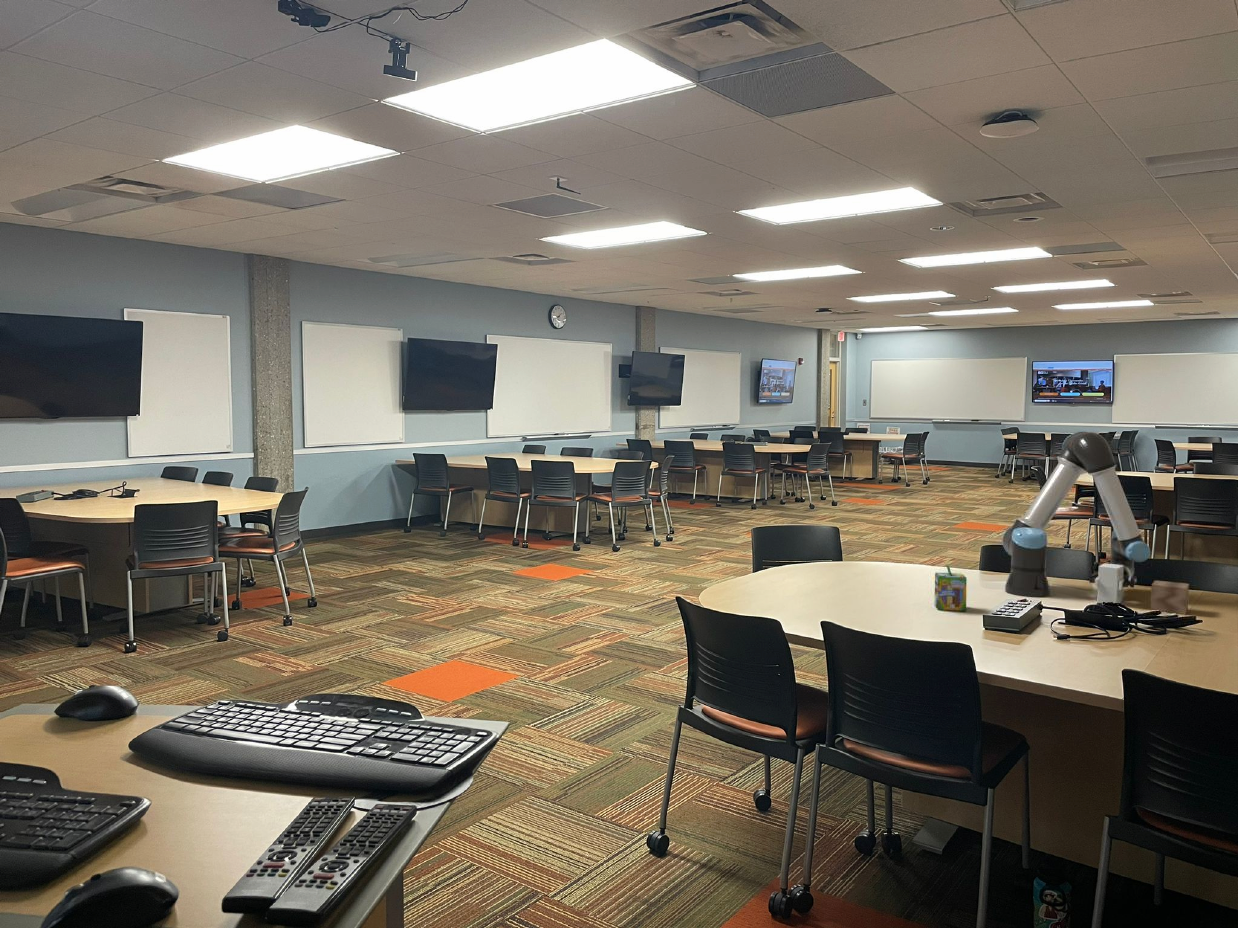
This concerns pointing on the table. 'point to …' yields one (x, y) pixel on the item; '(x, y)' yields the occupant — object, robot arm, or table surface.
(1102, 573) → the small box
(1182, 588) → the walnut block
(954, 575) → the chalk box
